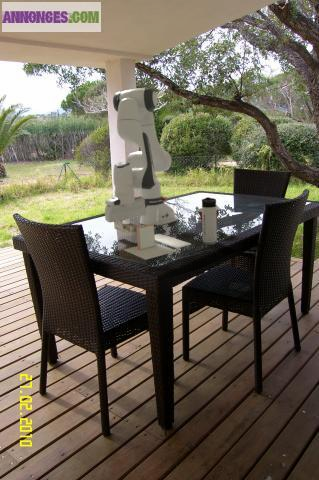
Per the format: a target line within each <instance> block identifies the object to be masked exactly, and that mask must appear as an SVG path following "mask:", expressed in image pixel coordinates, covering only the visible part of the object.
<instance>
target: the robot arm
mask: <svg viewBox="0 0 319 480" xmlns="http://www.w3.org/2000/svg"><path fill="white" fill-rule="evenodd" d="M112 104H113V108H114V110H115V111H116V112H117V114H116V115H117V116H116V127H117V128H116V130H117V134H118V136H119V137H120V138H121V139H122V140H123V141H125V142H127V143H130V144H132V145H135V146H138V148H140V151H139V150H137V151H133V152H130V153H129V154H128V156H127V158H126V161H122V162H117V163H115V164H114V165H113V173H112V175H113V184H114V195H112V196H111V197H109V198H107V199H105V201H104V202H105V203H104V204H106V205H105V208H104V218H105V221H106V222H107V223H114V222H116V221H118V223H119V224H120V225H121V229H122V230H123V229H125V225H123V224H122V222H123V221H125V220H129V219H130V223H132V224H135V222H136V218H140V220H139V224H141V225H143V226H144V225H149V224H154V226H156V225H157V226H160V225H161V226H163V225H167V224H170V223H173V222H176V221H178V220H179V219H180V218H179V217H178V216H177V215H176V214H175V210H174V209H173V208H172V207H170V206H169V205H168V204H166V203H165V202H166V201H168V197H167V196H162V193H161V190H162V189H161V188H162V187H161V182H160V180H158V179H157V175H156V173H162V172H165V171H168V170H169V169H170V168H171V166H172V161H173V160H172V157H171V154H170V153H169V152H168V151H167V150H165V149H164V148H163V147H162V146H161V144H160V142H159V140H158V137H157V131H156V124H155V117H154V113H153V112H154V110H155V109H156V107H157V105H158V95H157V91H156V90H155V89H154V88H152V87H139V88H138V87H137V88H133V89H126V90H120V91H117V92H115V94H114V95H113V98H112ZM135 189H137V190H139V191H140V196H135Z"/></svg>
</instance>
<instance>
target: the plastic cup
mask: <svg viewBox="0 0 319 480" xmlns="http://www.w3.org/2000/svg"><path fill="white" fill-rule="evenodd" d="M220 209H221V208H220V207H219V206H216V219H217V220H218V216H219V210H220ZM197 213H198V214H199V218H200V224H202V207H201V208H199V209H198V208H197Z"/></svg>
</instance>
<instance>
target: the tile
mask: <svg viewBox="0 0 319 480" xmlns="http://www.w3.org/2000/svg"><path fill="white" fill-rule="evenodd" d="M139 226H140V225H139ZM136 228H137V235H136V241H137V246H138V250H143V249H147V248H150V247H154V246H155V243H156V241H155V236H154V235H155V225H154V224H149V225H144V224H143V226H140V227H136Z"/></svg>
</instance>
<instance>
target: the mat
mask: <svg viewBox="0 0 319 480" xmlns="http://www.w3.org/2000/svg"><path fill="white" fill-rule="evenodd" d="M123 251H125V252H126V253H129V254H132V255H134V256H136V257H138V258H140V259H143V260H149V259H153V258H157V257H160V256H164V255H169V254H172V253H175V252H177V250H176V249H174V248H171V247H169V246H168V247H167V246H165V245H162V244H161V243H160V244H159V243H156V242H155V246H154V247H150V248H147V249H143V250H138V245H136V246H132V247H129V248H125V249H123Z"/></svg>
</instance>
